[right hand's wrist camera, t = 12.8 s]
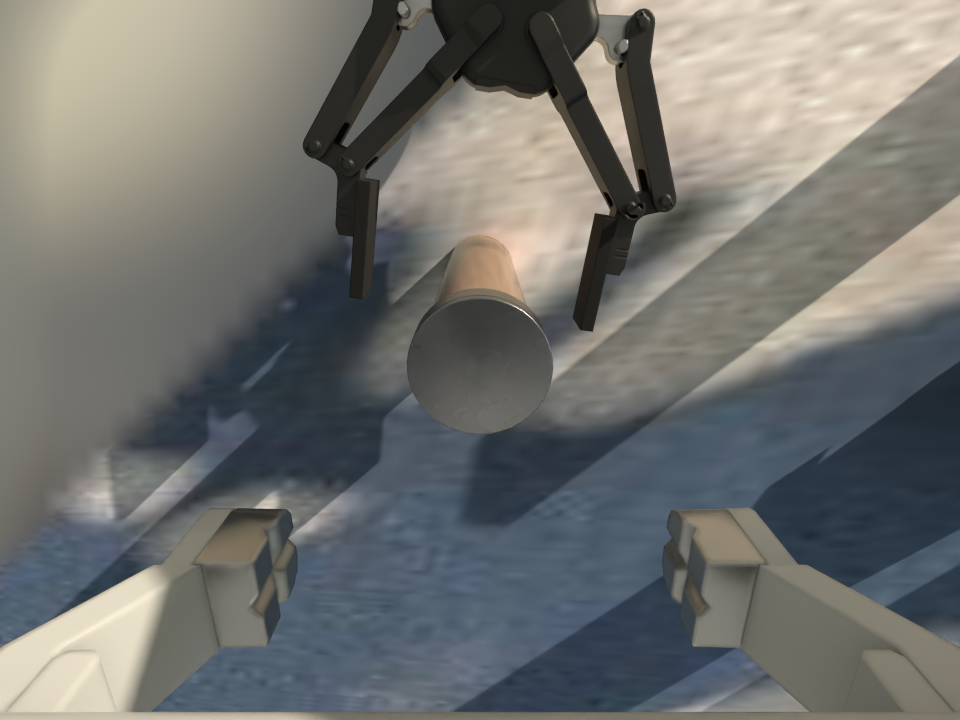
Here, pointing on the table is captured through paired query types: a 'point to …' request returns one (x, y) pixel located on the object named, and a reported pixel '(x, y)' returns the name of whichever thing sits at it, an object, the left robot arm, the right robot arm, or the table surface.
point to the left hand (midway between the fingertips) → (472, 309)
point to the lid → (479, 361)
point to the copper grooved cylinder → (480, 268)
